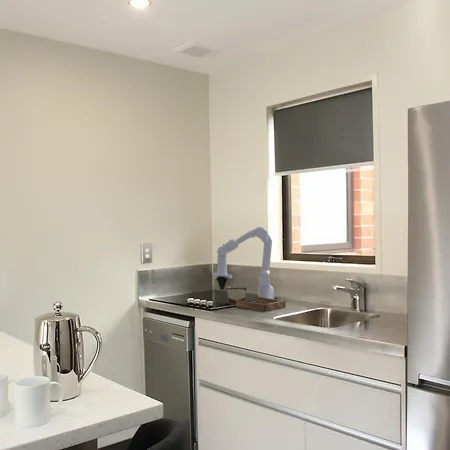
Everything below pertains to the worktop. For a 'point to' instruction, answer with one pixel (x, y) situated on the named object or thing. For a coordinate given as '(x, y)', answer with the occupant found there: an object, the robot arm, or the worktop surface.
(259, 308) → the wooden tray
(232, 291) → the food container
